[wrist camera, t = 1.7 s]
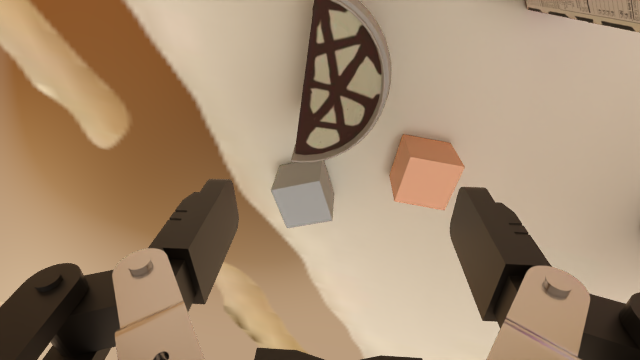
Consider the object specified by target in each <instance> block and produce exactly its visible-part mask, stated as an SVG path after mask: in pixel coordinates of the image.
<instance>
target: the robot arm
mask: <svg viewBox="0 0 640 360" xmlns="http://www.w3.org/2000/svg"><path fill="white" fill-rule="evenodd" d="M238 220H239V217H238V209H237V204H236V198H235V193H234V187H233V183H232V181H231V180H229V179H228V180H227V179H209V180H208V181H207V182H206V184H205V185H204V187H203V188H202V190H201V191H200V192H194V193H193V194H191V195H189V196H188V197H187V198H185V199H184V200H183V201H182V202H181V203H180V205H179V206H178V207H177V209H176V210H175V212H174V213H173V214H172V216H171V217H170V220H168V221H167V222H166V224H165V225H164V227H163V228H162V229H161V231H160V232H159V234H158V235H157V237H156V238H155V239H154V240H153V242H152V243H151V245H150V246H149V248H148V249H143V250H139V251H136V252H134V253H132V254H130V255H128V256H126V257H125V258H123V260H121V261H120V262H119V263H118V264H117V266H116V267H115V268H114V270H110V271H105V272H100V273H95V274H90V275H85V276H84V275H83V273H82V271H81V270H80V268H79V267H78V266H77V265H75V264H71V263H63V264H57V265H54V266H51V267H48V268H45V269H43V270H41V271H39V272H37V273H36V274H34V275H33V276H31V277H30V278H29V279H27V280H26V281H25V282H24V283H23V284H22V285H21V286H20V287H19V288H18V289H17V290H16V291H15V292H14V293H13V295H12V296H11V297H10V298H9V299H8V300H7V301H6V302H5V303H4V304H3V305H2V306H1V307H0V360H37V359H38V358H39V356H40V355H41V354H42V352H43V351H44V350H45V348H46V347H47V346H48V344H49V343H50V342H51V343H52V344H53V346H52V347H51V349H50V350H49V351H48V353H47V354H46V356H45V357H44V358H43V360H105V358H106V356H107V355H108V353H109V351H110V349H111V347H115V346H116V350H117V357H118V360H205V358H204V356H203V353H202V351H201V348H200V345H199V342H198V339H197V336H196V334H195V331H194V328H193V325H192V323H191V320H190V317H189V314H188V311H189V309H190V307H191V305H192V304H205V303H206V301H207V299H208V296H209V294H210V292H211V289H212V287H213V285H214V282H215V280H216V278H217V275H218V273H219V271H220V268H221V266H222V264H223V261H224V259H225V257H226V254H227V252H228V250H229V247H230V245H231V243H232V240H233V238H234V236H235V233H236V231H237V228H238ZM450 236H451V240H452V243H453V245H454V248H455V250H456V253H457V256H458V258H459V261H460V263H461V266H462V269H463V271H464V274H465V276H466V279H467V282H468V284H469V287H470V289H471V292H472V295H473V297H474V300H475V302H476V305H477V307H478V310H479V313H480V315H481V318H482V320H483V321H497V322H498V324H499V326H500V331H499V333H498V335H497V337H496V340H495V342H494V344H493V346H492V348H491V351H490V353H489V355H488V357H487V359H486V360H640V293H636V294H634V295H633V296H631V298H630V299H629V301H628V302H627V303H626V304H624V303H621V302H617V301H613V300H610V299H606V298H603V297H599V296H595V295H592V294H589V292H588V290H587V289H586V287H585V286H584V285H583V284H582V283H581V282H580V281H579V280H578V279H576V278H575V277H574V276H572V275H570V274H569V273H567V272H565V271H563V270H560V269H558V268H554V267H552V266H551V265H550V264H549V262H548V261H547V259H546V258H545V256H544V255H543V253H542V252H541V250H540V249H539V248H538V246H537V245H536V243H535V242H534V240H533V239H532V237H531V236H530V235H528V232H527V230H526V229H525V227H524V226H522V223H521V221H520V220H519V219H518V217H517V216H516V214H515V213H514V212H513V211H512V210H510V209H509V208H508V207H506V206H505V205H504V204H502V203H495V201H494V200H493V198H492V197H491V195H490V193H489V192H488V190H487V189H486V188H479V187H461V188H460V189H459V192H458V195H457V199H456V203H455V207H454V211H453V215H452V219H451V223H450ZM254 360H324V359H321V358H318V357H315V356H312V355H309V354H306V353H303V352H300V351H297V350H284V349H268V348H257V350H256V355H255V359H254ZM361 360H422V358H410V357H394V356H376V357H371V358H366V359H361Z"/></svg>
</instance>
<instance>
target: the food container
mask: <svg viewBox="0 0 640 360" xmlns="http://www.w3.org/2000/svg"><path fill="white" fill-rule="evenodd" d="M390 83H391V61H390V54H389V50H388V46H387V43H386V40H385V37H384V35H383V33H382V31H381V29H380V27H379V25H378V23H377V22H376V20H375V19H374V17H373V16H372V15H371V13H370V12H369V11H368V10H367V9H366V8H365V7H364V6H363V5H362V4H361V3H360V2H359V1H358V0H314V6H313V17H312V25H311V32H310V40H309V48H308V56H307V63H306V71H305V78H304V85H303V93H302V102H301V109H300V116H299V124H298V132H297V140H296V145H295V148H294V152H293V156H292V159H291V161H293V162H316V161H322V160H326V159H329V158H332V157H335V156H337V155H339V154H341V153H343V152H345V151H347V150H349V149H350V148H352V147H353V146H355V145H356V144H358V143H359V142H360V141H361V140H362V139H363V138H364V137H365V136H366V135H367V134H368V133H369V132H370V130H371V129H372V128H373V127H374V125H375V124H376V122H377V120H378V118H379V117H380V115H381V113H382V110H383V108H384V105H385V102H386V100H387V97H388V93H389V88H390Z"/></svg>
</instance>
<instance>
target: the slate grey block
mask: <svg viewBox="0 0 640 360" xmlns="http://www.w3.org/2000/svg"><path fill="white" fill-rule="evenodd" d="M271 192H272V194H273V196H274V199H275V201H276V203H277V206H278V208H279V211H280V213H281V215H282V218H283V220H284V223H285V225H286V227H287V228H292V227H298V226H304V225H310V224H316V223H322V222H327V221H332V220H333V205H334V191H333V188H332V185H331V182H330V178H329V175H328V172H327V168H326V165H325V162H324V160H322V161H316V162H294V163H290V164H285V165H280V166H279V169H278V172H277V175H276V177H275V180H274V183H273V186H272V189H271Z"/></svg>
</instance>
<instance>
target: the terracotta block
mask: <svg viewBox="0 0 640 360" xmlns="http://www.w3.org/2000/svg"><path fill="white" fill-rule="evenodd" d="M464 168H465V167H464V165H463V163H462V161H461V160H460V158H459V156H458V155H457V153H456V151H455V150H454V148H453V146H452V145H451V143H447V142H442V141H437V140H431V139H426V138H421V137H415V136H410V135H404V134H403V136H402V139H401V142H400V145H399V148H398V151H397V154H396V157H395V160H394V163H393V166H392V169H391V172H390V175H389V176H390V181H391V186H392V191H393V196H394V201H396V202H401V203H407V204H412V205H418V206H423V207H429V208H435V209H440V210H445V208H446V206H447V204H448V202H449V199H450V197H451V195H452V193H453V191H454V189H455V187H456V185H457V182H458V180H459V178H460V176H461V174H462V172H463V170H464Z"/></svg>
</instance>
